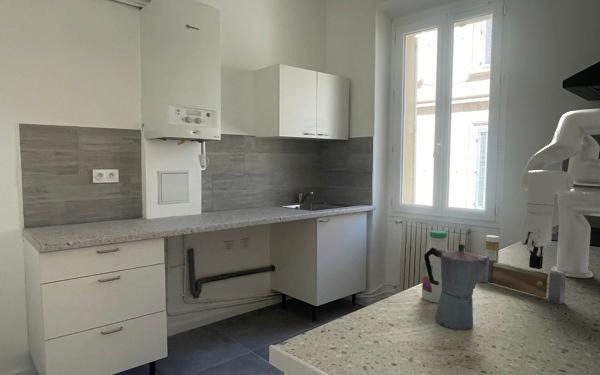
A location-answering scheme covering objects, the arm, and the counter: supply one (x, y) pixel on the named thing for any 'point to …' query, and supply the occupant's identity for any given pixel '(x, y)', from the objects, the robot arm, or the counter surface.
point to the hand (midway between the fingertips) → (535, 267)
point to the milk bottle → (434, 268)
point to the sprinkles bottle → (492, 247)
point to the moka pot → (456, 285)
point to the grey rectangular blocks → (555, 283)
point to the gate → (518, 278)
